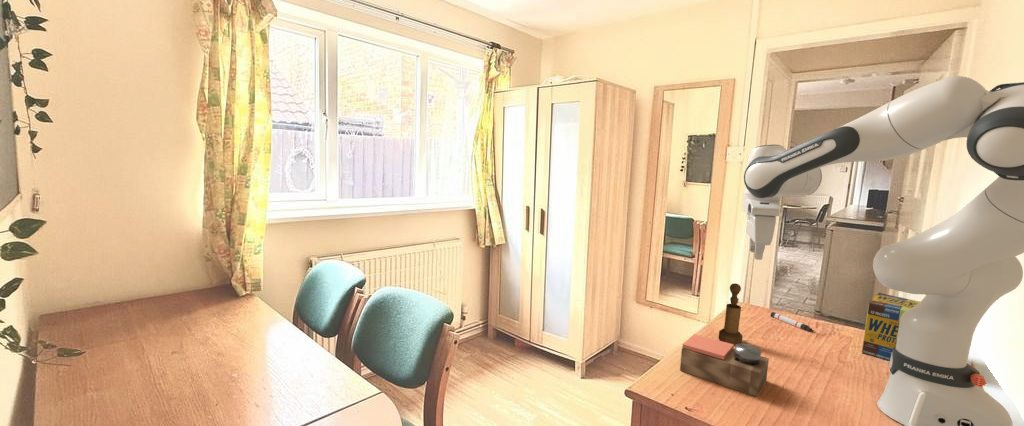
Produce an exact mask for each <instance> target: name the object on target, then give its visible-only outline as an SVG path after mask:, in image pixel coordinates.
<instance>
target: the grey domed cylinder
mask: <svg viewBox="0 0 1024 426" xmlns="http://www.w3.org/2000/svg"><path fill="white" fill-rule="evenodd" d="M734 349H735V353H734V358H735V359H736V360H737V361H739V362H741V363H744V364H747V365H752V366H753V365H758V364H760V356H762V355H761V353H762V350H761V349H760V348H759V347H758V346H755V345H753V344H749V343H743V342H742V343H739V344H736V345H734Z"/></svg>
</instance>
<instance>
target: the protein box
mask: <svg viewBox="0 0 1024 426" xmlns="http://www.w3.org/2000/svg"><path fill="white" fill-rule="evenodd" d="M920 302H921V300H920V301H919V300H915V299H910V298H905V297H900V296H897V295H890V294H886V293H881V292H878V293H877V294H876V295H875V296H874V297H873V298H872V299H871V301H869V302H868V307H867V313H866V319H865V321H866V322H865V325H864V332H863V333H864V334H863V339H862V340H863V342H862V350H861V353H862V354H863V355H867V356H871V357H873V358H874V357H875V358H878V359H882V360H886V361H888V362H890V359H891V353H892V351H893V347H894V346H896V342H897V336H898V329H899V323H900V318H901V316H902V314H903V313H904V312H905V311H906V310H908V309H910V308H912V307H914V306H916V305H917V304H918V303H920Z"/></svg>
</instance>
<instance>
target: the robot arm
mask: <svg viewBox="0 0 1024 426" xmlns="http://www.w3.org/2000/svg"><path fill="white" fill-rule="evenodd" d="M958 138H960V139H961V138H966V150H967V153H968V155H969V156H970V157H971V159H972V160H973V161H974V162H975V163H977V164H978V165H979V166H981V167H983V168H985V169H986V170H988V171H990V172H993V173H994V174H995V175H997V176H998V177H997V178H996V179H995V180H994V181H993V182H991V183H990V184H989V185H988V186H987V187H986V188H984V189H983V190H982V191H981V192H980V193H979V194H977V195H976V196H975V197H974V198H973V199H972V200H971V201H970V202H968V203H967V204H966V205H965V206H964V207H963V208H961V209H960V210H959V211H958V212H956V213H955V214H953V215H952V216H950V217H949V218H947V219H945V220H943V221H941V222H940V223H938V224H936V225H934V226H933V227H929V229H926V230H924V231H922V232H920V233H918V234H916V235H914V236H912V237H909V238H906V239H904V240H901V241H898V242H894V243H889V244H887V245H883V246H882V247H881V248H880V249H878V251H877V252H876V253H875V256H874V257H873V261H872V269H873V274H874V276H875V278H876V279H877V280H878V282H879V283H880V284H881V285H882V286H883V287H886V288H887V289H890V290H895V291H898V292H902V293H907V294H910V295H911V294H912V295H924V297H923V298H922V300H920V303H918V304H917V305H916V306H914V307H912V308H910V309H908V310H906V311H905V312H904V313H903V314H902V316H901V318H900V323H899V329H898V336H897V342H896V346H894V347H893V351H892V353H891V359H890V361H889V372H890V374H889V377H888V379H887V382H886V385H885V388H884V390H883V392H882V394H881V396H880V397H879V399H878V401H876V402H877V404H876V405H877V407H878V408H879V410H880V411H882V413H883V414H884V415H886V416H888V418H891V419H893V420H894V421H896V422H898V423H900V424H901V425H903V426H1014V425H1013V424H1014V423H1013V420H1012V417H1011V415H1010V414H1009V411H1008V410H1007V409H1006V408H1005V407H1004V406H1003V405H1002V404H1001V403H1000V402H999V401H998V400H997V399H995V398H994V397H993V396H992V395H990V394H989V393H988V392H986V391H985V390H984V389H983V388H982V387H985V386H986V384H987V382H986V379H985V376H983V375H981V373H980V371H979V370H977V369H976V367H975V365H973V364H969V363H968V359H969V354H970V349H971V345H972V340H973V336H974V335H975V334H974V333H975V332H976V331H975V330H976V328H977V327H978V324H979V323H980V321H981V320H982V318H983V316H985V314H986V313H987V311H988V310H989V309H990V308H991V306H993V305H994V304H995V303H996V301H998V300H999V299H1000V298H1002V297H1004V296H1005V295H1006V294H1008V293H1011V292H1012V291H1014V290H1016V289H1017V288H1018V287H1019V286H1020V284H1021V282H1022V281H1023V277H1024V270H1023V266H1022V264H1021V261H1020V260H1019V259H1018V256H1021V255H1022V254H1024V81H1022V82H1014V83H1013V82H1010V83H1001V84H997V85H995V86H994V87H993V88H992V89H990V90H987V89H986V88H985V87H984V86H983V85H982V84H981V83H979V82H978V81H976V80H975V79H973V78H970V77H967V76H960V75H957V76H950V77H945V78H942V79H940V80H936V81H934V82H931V83H929V84H926V85H923V86H920V87H918V88H916V89H913V90H911V91H909V92H907V93H905V94H903V95H900V96H899V97H896V98H895V99H893V100H890V101H889V102H887V103H885V104H883V105H881V106H879V107H878V108H874V110H872V111H869V112H868V113H865V114H864V115H862V116H860V117H858V118H856V119H853V120H852V121H850V122H848V123H845V124H843V125H841V126H839V127H837V128H834V129H833V130H830V131H828V132H825V133H823V134H820V135H818V136H816V137H814V138H811V139H809V140H807V141H805V142H802V143H800V144H797V145H796V146H793V147H791V148H789V149H786V147H784V146H783V145H781V144H765V145H759V146H756V147H754V148H752V149H751V151H750V152H749V154H748V159H747V163H746V168H745V171H744V174H743V183H744V185H745V189H744V191H743V195H742V196H743V197H742V204H741V205H742V206H741V211H742V212H746V217H747V219H746V226H745V227H746V228H745V230H746V231H745V232H746V234H747V235H748V236H749V251H750V252H751V253H754V254H753V257H754V259H755V260H758V261H759V260H760V261H762V260H763V256H764V252H765V249H766V246H770V245H771V244H772V241H773V238H774V233H775V227H776V223H777V217H780V212H781V209H780V208H781V199H782V198H785V197H786V198H790V197H791V198H793V197H795V198H796V197H798V198H799V197H806V196H809V195H812V194H814V193H815V192H816V191H817V190H818V189H819V187H820V186H821V183H822V178H823V175H822V170H821V168H823V167H826V166H830V165H834V164H835V165H836V164H842V163H843V164H844V163H854V162H855V163H857V162H860V163H861V162H883V161H890V160H895V159H899V158H903V157H907V156H909V155H914V154H915V153H919V152H920V151H923V150H926V149H928V148H930V147H932V146H935V145H937V144H940V143H941V142H945V141H948V140H952V139H958Z"/></svg>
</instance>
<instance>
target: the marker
mask: <svg viewBox="0 0 1024 426" xmlns="http://www.w3.org/2000/svg"><path fill="white" fill-rule="evenodd" d="M770 317H771V318H774V319H776V320H779V321H780V322H783V323H785V324H789V325H791V326H793V327H796V328H797V329H800V330H802V331H807V332H814V331H815V330H814V329H813V328H812V327H809V325H807V324H805V323H802V322H800V321H798V320H795V319H792V318H790V317H787V316H785V315H783V314H780V313H777V312H774V311H772V312H771V313H770Z"/></svg>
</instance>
